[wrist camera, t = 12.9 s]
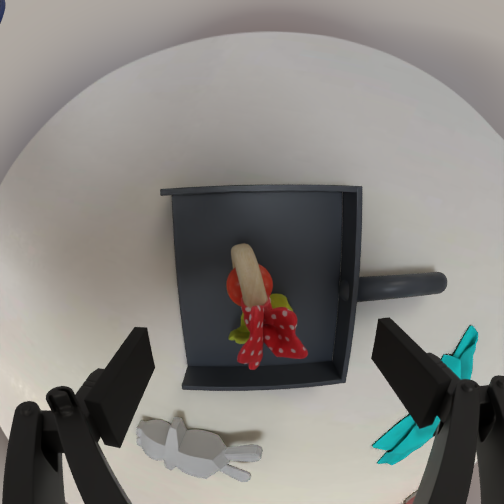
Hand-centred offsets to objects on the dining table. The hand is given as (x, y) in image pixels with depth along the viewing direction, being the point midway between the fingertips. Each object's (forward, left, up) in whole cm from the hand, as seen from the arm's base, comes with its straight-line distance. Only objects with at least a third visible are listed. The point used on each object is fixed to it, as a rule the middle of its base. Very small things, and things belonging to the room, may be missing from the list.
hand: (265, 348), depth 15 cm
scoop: (0, +6, -12) cm, 13 cm away
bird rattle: (0, -1, -11) cm, 11 cm away
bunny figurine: (+21, -8, -12) cm, 25 cm away
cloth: (+21, +26, -12) cm, 36 cm away
